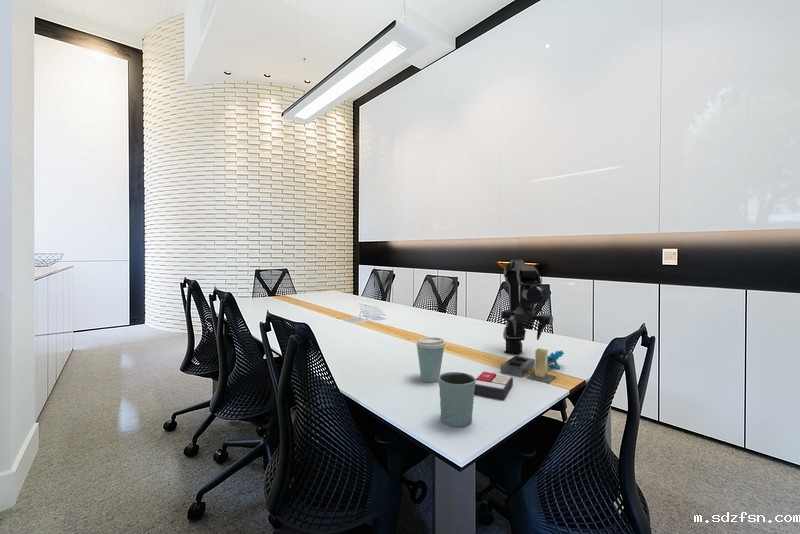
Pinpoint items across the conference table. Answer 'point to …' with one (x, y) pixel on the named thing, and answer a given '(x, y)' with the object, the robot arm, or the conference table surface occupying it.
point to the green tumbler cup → (456, 398)
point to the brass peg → (541, 363)
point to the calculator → (493, 385)
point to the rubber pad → (546, 380)
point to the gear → (554, 358)
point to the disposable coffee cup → (430, 357)
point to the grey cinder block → (517, 366)
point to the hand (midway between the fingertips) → (526, 337)
